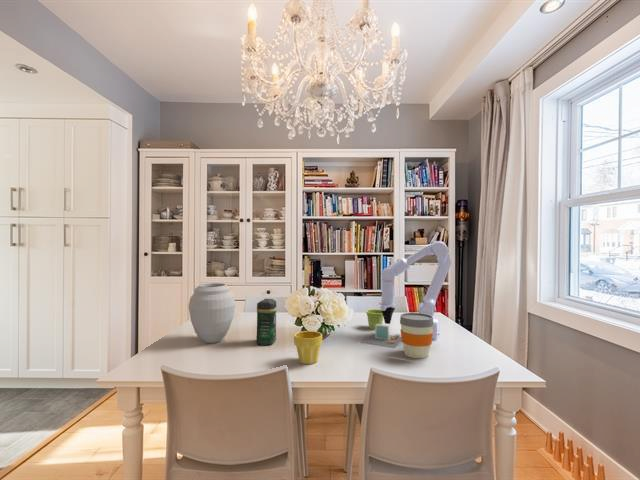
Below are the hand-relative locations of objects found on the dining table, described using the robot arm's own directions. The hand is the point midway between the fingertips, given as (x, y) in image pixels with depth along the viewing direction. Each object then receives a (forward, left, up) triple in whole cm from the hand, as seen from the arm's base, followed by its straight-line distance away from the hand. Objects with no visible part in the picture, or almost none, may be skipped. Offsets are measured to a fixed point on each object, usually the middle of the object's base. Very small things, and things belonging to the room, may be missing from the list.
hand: (387, 323), depth 158 cm
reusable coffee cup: (-18, +20, -6) cm, 28 cm away
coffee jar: (+42, +36, -6) cm, 56 cm away
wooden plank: (-5, +7, -5) cm, 10 cm away
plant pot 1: (+15, +46, -6) cm, 49 cm away
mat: (-1, +9, -6) cm, 11 cm away
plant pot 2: (+9, -8, -6) cm, 13 cm away
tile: (0, +7, -5) cm, 9 cm away
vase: (+64, +46, -6) cm, 79 cm away
